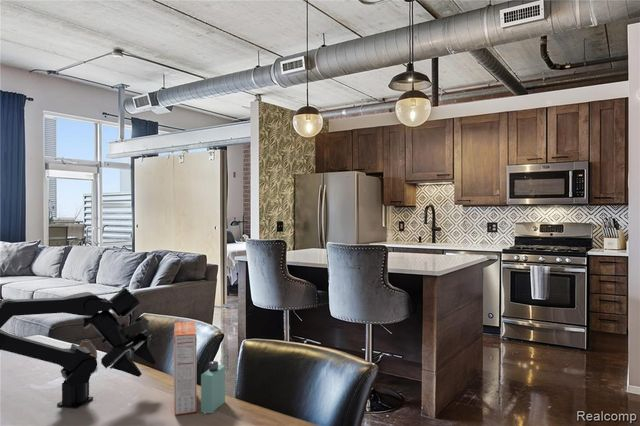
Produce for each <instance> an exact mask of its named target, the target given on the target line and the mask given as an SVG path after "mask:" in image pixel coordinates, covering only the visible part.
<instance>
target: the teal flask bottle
mask: <svg viewBox="0 0 640 426" xmlns="http://www.w3.org/2000/svg"><path fill="white" fill-rule="evenodd" d="M225 402H226V365H221V364H219V361H217V360H213V361H212V360H211V361H209V362H208V369H207V370H205V371H204V372H202V374H200V413H201V412H205V413H204V414H206V413H212V414H213V413H214V412H216V411H217V410H218V409H219V408H220V407H221V406H222V405H223V404H224V403H225ZM218 407H219V408H218ZM217 408H218V409H217ZM216 409H217V410H216ZM215 410H216V411H215Z"/></svg>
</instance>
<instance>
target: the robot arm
mask: <svg viewBox="0 0 640 426" xmlns="http://www.w3.org/2000/svg"><path fill="white" fill-rule="evenodd" d="M140 305H141V302H140V301H139V300H138V298H137V297H136V296H135V295H133V293H131V292H130V291H129V290H128V289H127V288H126V287H122V288H121V289H120V290H119V291H118V292H117V293H115V295H114V296H112V297H111V298H109V299H107V298H106V297H99V296H98V295H96V294H94V293H92V292H90V291H84V292H77V293H73V294H70V295H68V296H61V297H44V298H43V297H41V298H40V297H39V298H17V299H13V298H6V299H3V300H1V302H0V351H4V352H8V353H11V354H16V355H20V356H24V357H27V358H31V359H34V360H39V361H42V362H47V363H51V364H54V365H58V366H60V367H61V370H60V374H61V376H62V378H64V380H63V382H62V383H61V401H59V402H57V403H56V406H58V407H65V408H72V409H77V408H80V407H82V406H83V405H85V404H87V403H88V402H91V401H92V400H94V396H90V378H91V376H92V374H93V373H94V372H95V371H96V369H97V367H98V360H97V359H96V358H95V357H94V356H93V355H92V354H91V352H90V351H89V350H88V349H87V348H86V347H79V345H76V344H74V343H71V346H70V348H68V347H67V348H62V347H58V346H54V345H51V344H48V343H43V342H40V341H38V340H33V339H31V338H26V337H23V336H20V335H15V334H12V333H9V332H7V331H6V330H5V331H4V330H3V329H1V328H2V327H4V326H5V324H6V323H7V322H8V321H9V320H11V318H12V317H16V316H31V315H35V316H36V315H47V314H49V315H51V314H70V315H74V316H83V317H84V318H83V325H82V327H83V328H84V329H85V330H87V329H88V328H90V327H91V326H92V328H94V330H95V331H96V332H97V333H98V334H99V335H100V336H101V337H102V338H103V339H101V342H102V344H106V343H107V344H108V345H109V346H110V347H111V349H109V350H108V351H107V353H105V354H104V355H103V356H102V358H101V361H100V362H101V363H100V364H101V365H102V366H103V367H104V368H105V369H108V368H109V369H110V370H112V369H113V370H117V371H121V372H123V373H127V374H129V375H132V376H135V377H138V378H139V377H141V376H142V374H143V373H142V372H141V370H140V369H139V367H138V366H137V365H136V363H135V362H134V361H133V359H132V357H131V351H133V355H135V356H137V357H138V358H140V359H141V360H144V361H145V362H147V363H148V364H150V365H152V366H156V364H157V360H156V358H155V356H154V353H153V351H152V348H151V345H150V344H151V340H152V337H151V336H152V333H151V332H150V331H149V329H150V326H149V323H150V320H148V319H147V318H146V317H145V316H143V315H141V316H138V317H137V318H135V319H134V322H133V323H131V324H129V325H128V323H126V322H122V323H121V322H120V321H119V320H118V319H117V318H126V317H127V316H128V315H130V314H131V313H132V312H133V311H135V310H136V309H137V308H138V307H139V306H140ZM111 311H112V312H113V314H114V315H115V316H116V317H117V318H116V317H115V316H114V315H113V314H112V312H111ZM85 316H86V317H85Z"/></svg>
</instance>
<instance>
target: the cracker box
mask: <svg viewBox="0 0 640 426" xmlns="http://www.w3.org/2000/svg"><path fill="white" fill-rule="evenodd" d="M197 353H198V352H197V329H196V321H180V322H174V331H173V405H174V406H173V407H174V415H175V416H178V415H179V414H180V415H186V414H187V413H188V414H195V413H194V412H196V413H197V412H198V410H197V409H198V408H197V407H198V399H197V398H198V395H197V388H198V387H197V384H198V383H197V379H198V377H197V376H198V374H197V372H198V371H197V369H198V368H197Z"/></svg>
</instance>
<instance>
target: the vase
mask: <svg viewBox="0 0 640 426" xmlns="http://www.w3.org/2000/svg"><path fill="white" fill-rule="evenodd" d="M78 346H79V347H86V348H87V349H88V350H89V351H90V352H91V354H92V355H93V356H94V357H95V358H96V360H97V359H98V352H97V348H96V346H95V345H93V343H92V342H91V340H90V339H83V340H81V341H80V343H79V345H78Z"/></svg>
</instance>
